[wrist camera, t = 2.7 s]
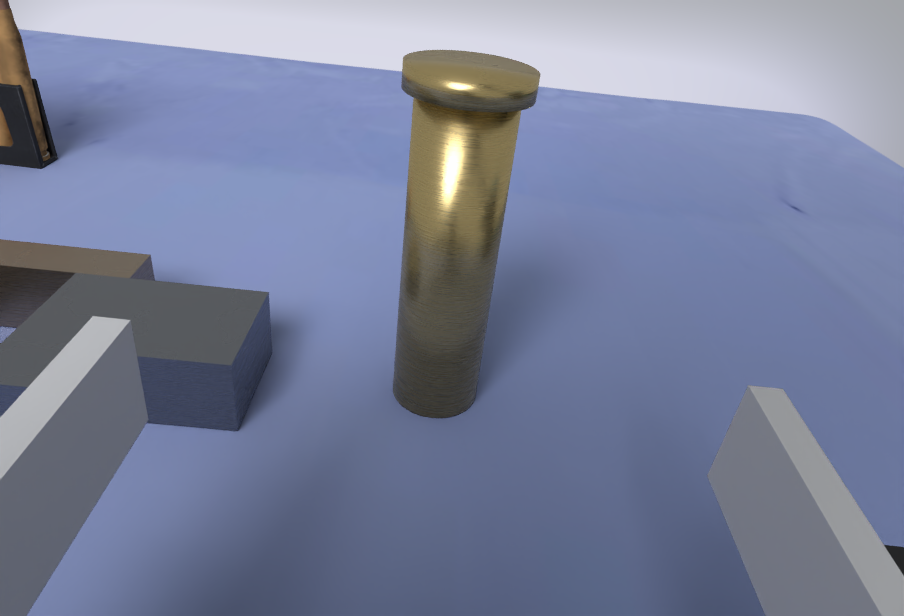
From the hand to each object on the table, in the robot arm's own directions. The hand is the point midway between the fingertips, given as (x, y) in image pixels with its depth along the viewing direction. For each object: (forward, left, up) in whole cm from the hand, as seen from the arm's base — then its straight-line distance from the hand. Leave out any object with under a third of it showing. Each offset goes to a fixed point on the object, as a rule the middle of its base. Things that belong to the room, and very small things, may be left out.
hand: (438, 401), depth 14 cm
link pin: (0, -10, -8) cm, 12 cm away
